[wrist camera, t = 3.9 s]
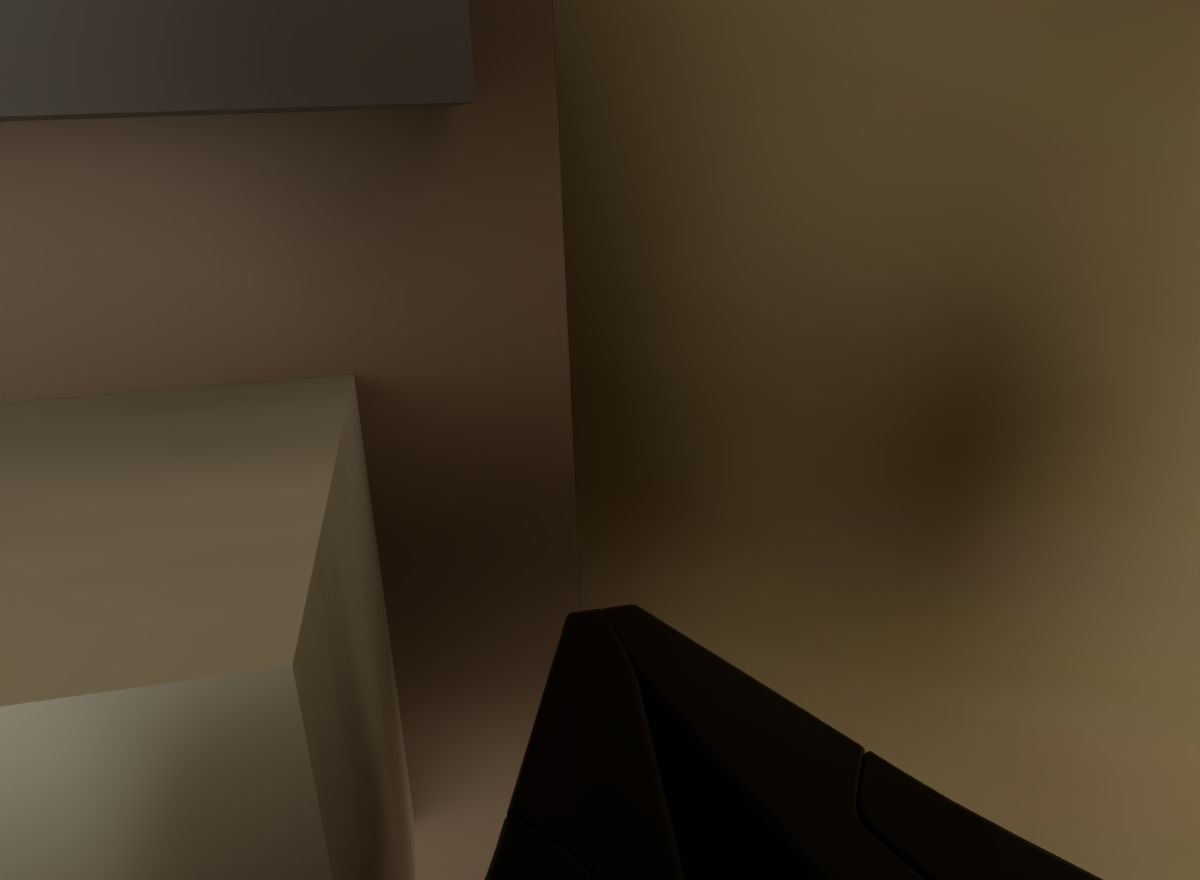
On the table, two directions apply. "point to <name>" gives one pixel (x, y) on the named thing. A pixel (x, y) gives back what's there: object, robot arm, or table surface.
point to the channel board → (330, 301)
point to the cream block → (196, 640)
